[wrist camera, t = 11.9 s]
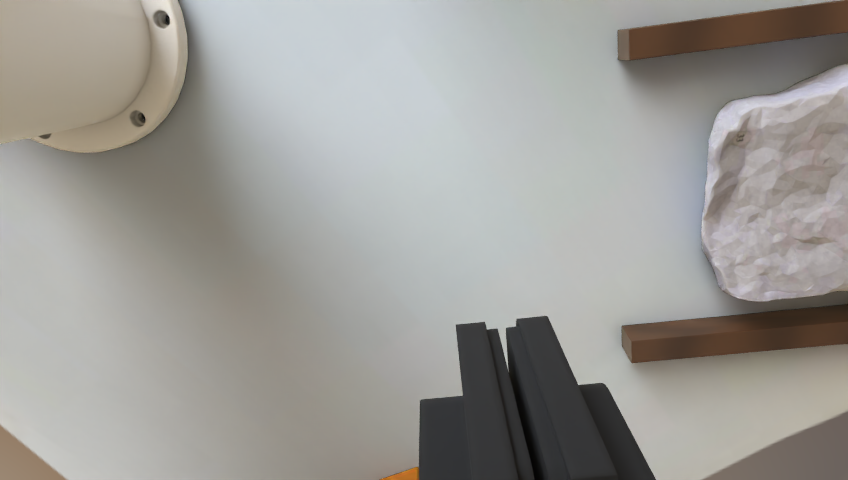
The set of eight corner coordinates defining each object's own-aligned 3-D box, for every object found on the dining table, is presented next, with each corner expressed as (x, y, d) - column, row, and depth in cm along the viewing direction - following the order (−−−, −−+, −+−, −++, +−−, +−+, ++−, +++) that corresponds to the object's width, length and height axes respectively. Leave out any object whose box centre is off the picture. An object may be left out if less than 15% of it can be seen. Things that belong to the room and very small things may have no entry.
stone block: (699, 286, 36) (884, 258, 33) (717, 321, 31) (933, 293, 28) (670, 103, 33) (873, 53, 29) (686, 113, 28) (926, 56, 25)
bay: (621, 346, 35) (631, 363, 34) (617, 30, 29) (628, 29, 28) (886, 322, 34) (912, 338, 32) (938, -13, 28) (974, -18, 26)
